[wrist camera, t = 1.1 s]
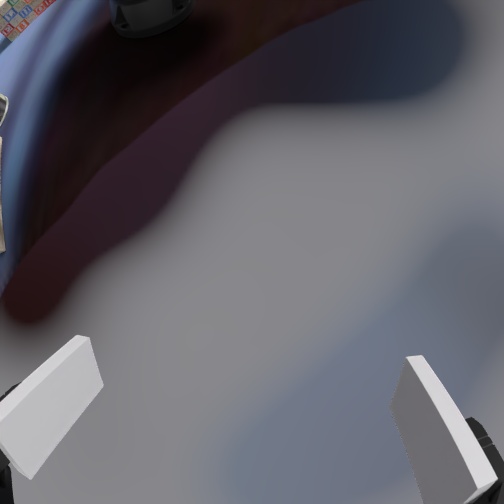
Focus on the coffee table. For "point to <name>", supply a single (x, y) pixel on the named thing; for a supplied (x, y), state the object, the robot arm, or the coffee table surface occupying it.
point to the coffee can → (3, 108)
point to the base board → (0, 235)
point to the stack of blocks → (19, 15)
